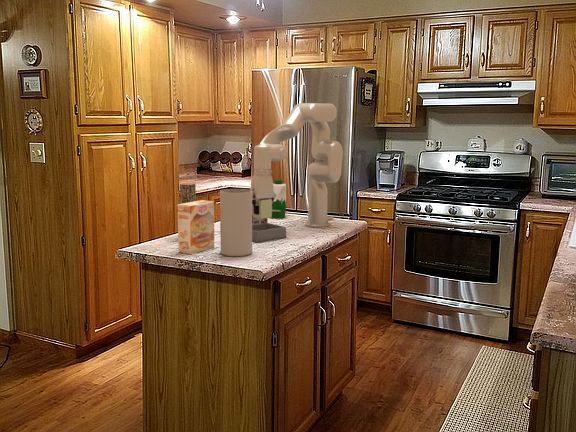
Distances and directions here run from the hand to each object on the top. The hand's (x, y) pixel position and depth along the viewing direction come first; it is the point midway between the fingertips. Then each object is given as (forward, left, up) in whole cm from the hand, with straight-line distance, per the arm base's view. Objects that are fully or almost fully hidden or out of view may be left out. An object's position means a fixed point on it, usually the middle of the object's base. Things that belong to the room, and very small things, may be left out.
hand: (262, 213), depth 254 cm
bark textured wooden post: (+26, -20, -12) cm, 35 cm away
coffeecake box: (+35, +1, -12) cm, 37 cm away
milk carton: (-39, -36, -12) cm, 54 cm away
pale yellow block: (0, 0, -2) cm, 2 cm away
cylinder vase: (+26, +16, -12) cm, 32 cm away
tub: (0, 0, -11) cm, 11 cm away
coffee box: (-14, -20, -12) cm, 27 cm away
